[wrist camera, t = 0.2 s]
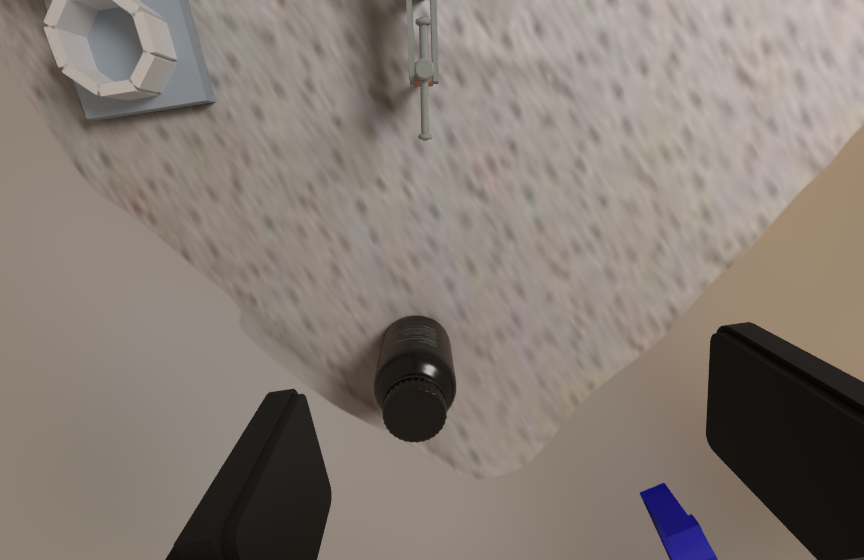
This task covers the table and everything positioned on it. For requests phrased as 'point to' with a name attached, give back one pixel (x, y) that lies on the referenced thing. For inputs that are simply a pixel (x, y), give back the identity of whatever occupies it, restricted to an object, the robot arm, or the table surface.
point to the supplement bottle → (415, 378)
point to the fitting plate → (128, 55)
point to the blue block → (676, 526)
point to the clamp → (423, 61)
